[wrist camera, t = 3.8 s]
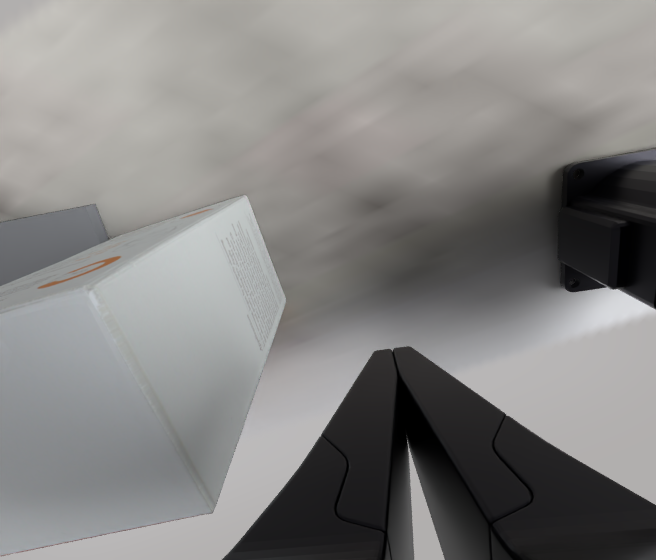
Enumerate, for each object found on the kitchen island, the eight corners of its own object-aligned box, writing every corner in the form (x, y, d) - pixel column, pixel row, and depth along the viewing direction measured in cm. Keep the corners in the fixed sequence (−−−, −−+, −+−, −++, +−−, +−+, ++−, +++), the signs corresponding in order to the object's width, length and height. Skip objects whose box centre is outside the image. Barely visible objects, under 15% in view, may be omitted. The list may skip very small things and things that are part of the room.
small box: (162, 337, 22) (-60, 575, 10) (110, 237, 20) (-246, 380, 8) (291, 302, 21) (218, 520, 9) (249, 191, 19) (81, 277, 7)
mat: (95, 204, 20) (85, 206, 19) (163, 381, 23) (157, 389, 23) (-151, 251, 21) (-169, 255, 20) (-51, 410, 25) (-63, 419, 24)
